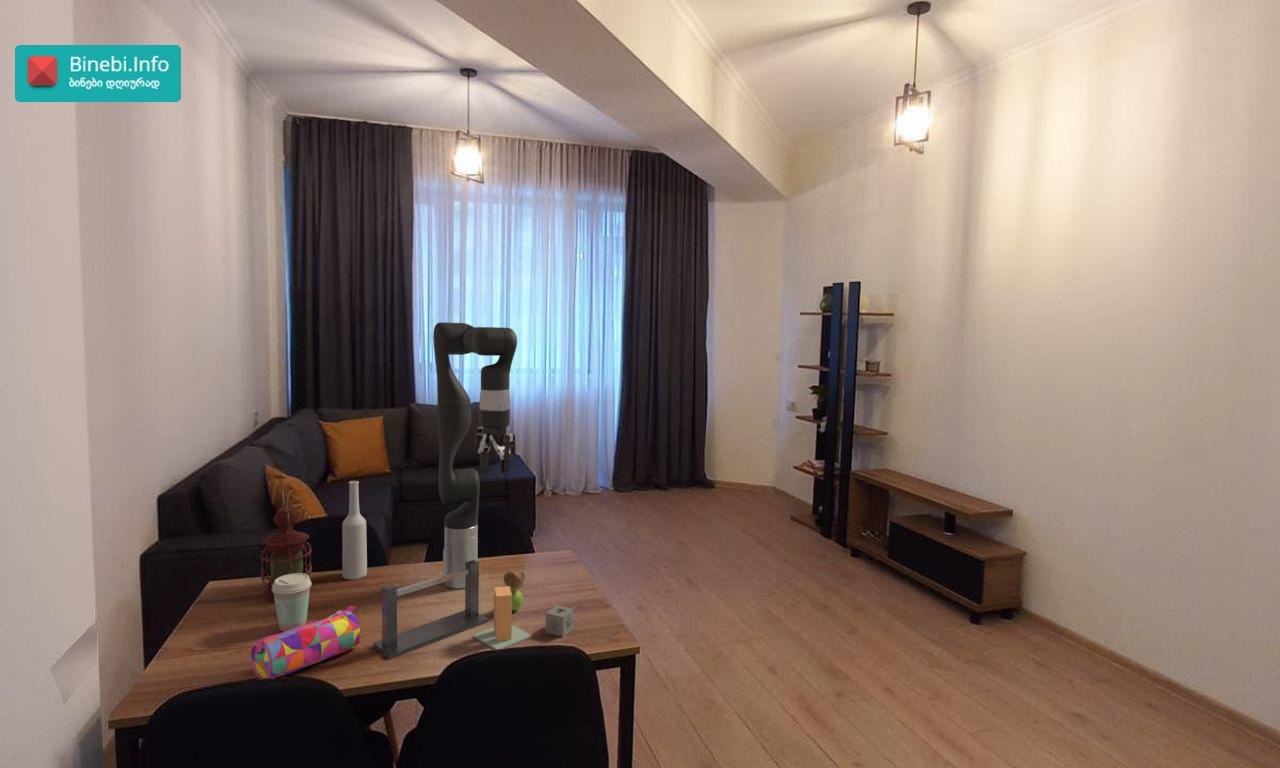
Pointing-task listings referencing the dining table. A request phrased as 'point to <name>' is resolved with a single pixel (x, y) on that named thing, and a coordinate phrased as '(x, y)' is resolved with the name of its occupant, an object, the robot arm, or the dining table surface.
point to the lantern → (284, 549)
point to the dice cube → (559, 620)
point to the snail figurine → (515, 587)
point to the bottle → (354, 538)
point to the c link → (502, 613)
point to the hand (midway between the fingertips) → (494, 470)
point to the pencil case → (305, 645)
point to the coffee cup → (291, 600)
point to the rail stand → (436, 629)
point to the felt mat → (490, 640)
